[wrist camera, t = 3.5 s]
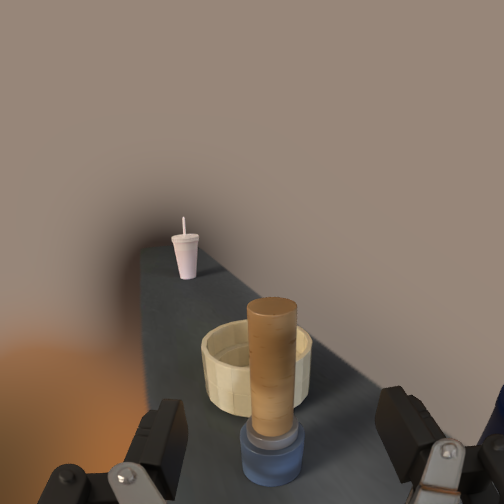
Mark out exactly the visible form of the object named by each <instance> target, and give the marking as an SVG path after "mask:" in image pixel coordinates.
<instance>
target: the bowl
mask: <svg viewBox="0 0 504 504" xmlns="http://www.w3.org/2000/svg"><path fill="white" fill-rule="evenodd" d="M201 351H202V359H203V367H204V375H205V383H206V390H207V393H208V396H209V398H210V400H211V401H212V402H213V403H214V404H215V405H216V406H217V407H219V408H220V409H221V410H223V411H226V412H228V413H230V414H233V415H236V416H243V417H250V416H251V415H252V413H251V391H250V369H249V346H248V322H247V319H246V320H240V321H235V322H230V323H227V324H224V325H221V326H219V327H217V328H215V329H213V330H212V331H210V332H209V333H208V334H207V335H206V336H205V337H204V338H203V340H202V345H201ZM311 358H312V339H311V337H310V335H309V334H308V333H307V332H306V331H305V330H304V329H302V328H301V327H299V326H297V339H296V369H295V393H294V408H295V407H296V406H298V405H300V404H301V403H302V401H303V400H304V399H305V397H306V396H307V395H308V391H309V386H310V374H311Z"/></svg>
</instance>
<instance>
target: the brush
mask: <svg viewBox="0 0 504 504" xmlns="http://www.w3.org/2000/svg"><path fill="white" fill-rule="evenodd" d="M247 322H248V346H249V369H250V391H251V413H252V415H251V416H250V417H249V418H248V420H247V422H246V423H245V424H244V425H243V427H242V428H241V431H240V444H241V455H242V466H243V471H244V474H245V475H246V477H247V478H248V479H250V480H251V481H252V482H254V483H256V484H259V485H262V486H268V487H275V486H281V485H284V484H287V483H289V482H291V481H292V480H294V479H295V478H296V477H297V476H298V474H299V473H300V471H301V466H302V457H303V448H304V439H305V431H304V428H303V426H302V425H301V423H300V422H298V420H297V418H296V417H295V416H294V415H293V413H294V393H295V369H296V339H297V304H296V303H295V302H294V301H292V300H289V299H286V298H280V297H268V298H267V297H266V298H260V299H256V300H254V301H251V302H250V303H249V304H248V305H247Z"/></svg>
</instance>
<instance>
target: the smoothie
mask: <svg viewBox="0 0 504 504" xmlns="http://www.w3.org/2000/svg"><path fill="white" fill-rule="evenodd" d="M198 240H199V235H197V234H186V228H185V217H183V234H182V235H176V236H173V237H172V242H173V243H174V249H175V254H176V258H177V263H178V268H179V273H180V277H181V278H182V279H192V278H195V277H196V267H197V248H198Z"/></svg>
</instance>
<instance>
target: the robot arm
mask: <svg viewBox="0 0 504 504" xmlns="http://www.w3.org/2000/svg"><path fill="white" fill-rule="evenodd" d="M375 425H376V429H377V431H378V433H379V436H380V438H381V440H382V442H383V444H384V446H385V449H386V451H387V453H388V455H389V457H390V460H391V462H392V464H393V466H394V468H395V471H396V473H397V475H398V477H399V480H400V482H401V484H402V483H406V482H409V481H411V482H412V484H413V486H412V488H411V490H410V493H409V495H408V497H407V500H406V502H405V504H458V503H459V500H460V498H461V500H462V502H463V504H504V435H502V434H492V435H490V436H488V437H487V438H486V439H485V440H484V442H483V444H482V445H477V446H466V447H464V446H463V444H462V443H461V442H459V441H458V440H455V439H452V438H446V436H445V435H444V433H443V432H442V431H441V429H440V428H439V426H438V425H437V423H436V422H435V420H434V419H433V417H431V415H430V413H429V412H428V410H426V407H425V406H424V405H423V403H422V402H421V401H420V400H419V399H417V398H416V397H414V396H413V395H409V396H407V394H406V393H405V391H404V390H403V388H402V387H401V386H395V387H389V388H384V389H382V391H381V394H380V398H379V403H378V407H377V411H376V415H375ZM138 427H139V428H138V429H137V431H136V433H135V436H134V438H133V440H132V443H131V445H130V447H129V450H128V452H127V455H126V457H125V459H124V462H123V463H119V464H117V465H115V466H114V467H112V469H111V470H110V471H109V472H108V473H90V474H86V473H85V471H84V470H83V469H82V468H81V467H79V466H78V465H75V464H64V465H61V466H59V467H57V468H56V469H55V470H54V471H53V472H52V474H51V476H50V478H49V480H48V482H47V484H46V487H45V489H44V491H43V493H42V495H41V497H40V499H39V501H38V503H37V504H167V502H166V501H165V500H172V501H174V500H175V496H176V491H177V486H178V482H179V477H180V473H181V468H182V464H183V459H184V455H185V450H186V446H187V441H188V425H187V421H186V416H185V411H184V406H183V402H182V400H174V399H163V400H162V401H161V404H160V407H159V409H158V410H150V411H149V412H148V413H146V414H145V415H144V416H143V417H142V419H141V421H140V424H139V426H138ZM492 481H493V483H494V485H495V487H496V488H497V490H498V492H499V494H498V493H497V491H496V489H495V487H494V486H493V484H492ZM499 495H500V496H499Z"/></svg>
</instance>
